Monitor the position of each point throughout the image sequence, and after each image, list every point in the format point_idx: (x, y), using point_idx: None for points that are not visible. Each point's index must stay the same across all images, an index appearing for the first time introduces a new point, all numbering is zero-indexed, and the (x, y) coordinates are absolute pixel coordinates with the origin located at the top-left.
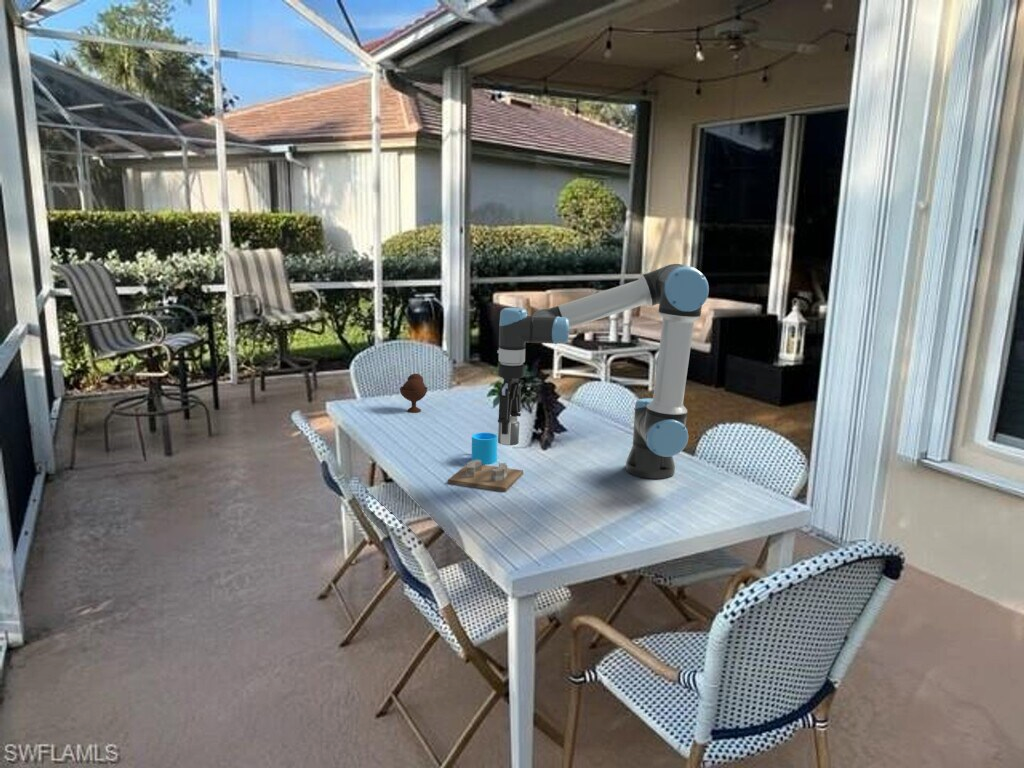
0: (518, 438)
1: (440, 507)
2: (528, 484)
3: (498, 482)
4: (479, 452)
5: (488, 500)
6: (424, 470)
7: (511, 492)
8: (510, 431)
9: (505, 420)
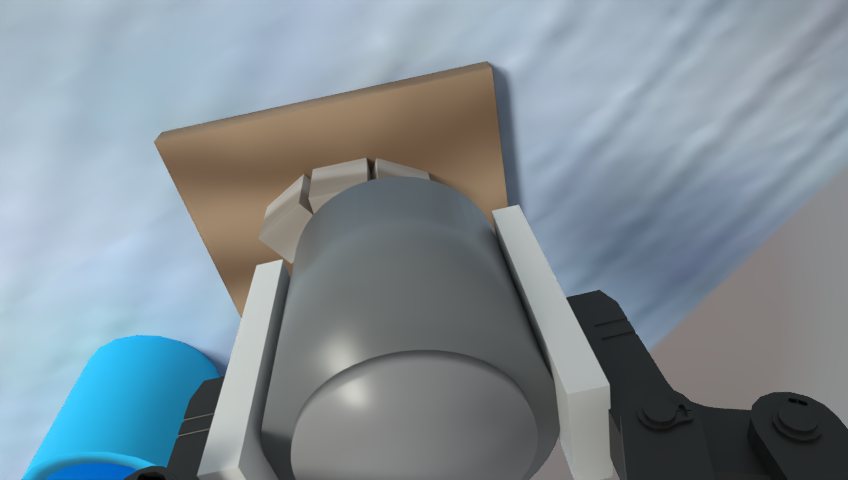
0: (368, 207)
1: (795, 208)
2: (291, 5)
3: (434, 151)
4: None
5: (646, 74)
6: None
7: (477, 27)
8: (527, 299)
9: (836, 439)
